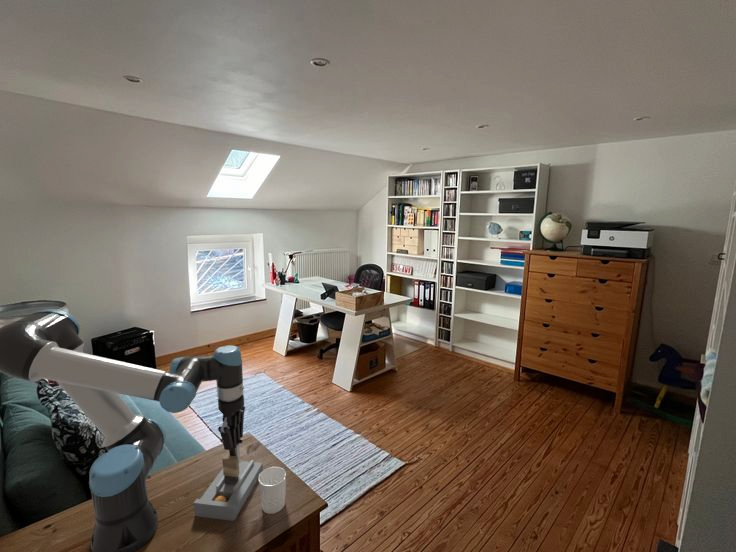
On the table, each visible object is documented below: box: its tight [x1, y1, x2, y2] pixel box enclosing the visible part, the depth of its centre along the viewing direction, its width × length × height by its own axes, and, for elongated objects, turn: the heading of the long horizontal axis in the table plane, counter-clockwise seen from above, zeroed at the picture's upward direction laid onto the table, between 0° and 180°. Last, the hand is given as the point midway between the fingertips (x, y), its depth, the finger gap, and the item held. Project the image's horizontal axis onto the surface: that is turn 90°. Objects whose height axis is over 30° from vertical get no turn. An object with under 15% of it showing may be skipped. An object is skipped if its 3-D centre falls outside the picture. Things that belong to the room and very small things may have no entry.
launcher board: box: [193, 459, 264, 522], centre depth 113 cm, size 20×12×4 cm, turn 173°
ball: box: [214, 496, 226, 502], centre depth 107 cm, size 4×4×4 cm
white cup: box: [257, 466, 287, 515], centre depth 108 cm, size 8×8×10 cm
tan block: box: [221, 454, 239, 485], centre depth 112 cm, size 2×4×8 cm, turn 83°
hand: (235, 463), depth 116 cm, fingers closed
